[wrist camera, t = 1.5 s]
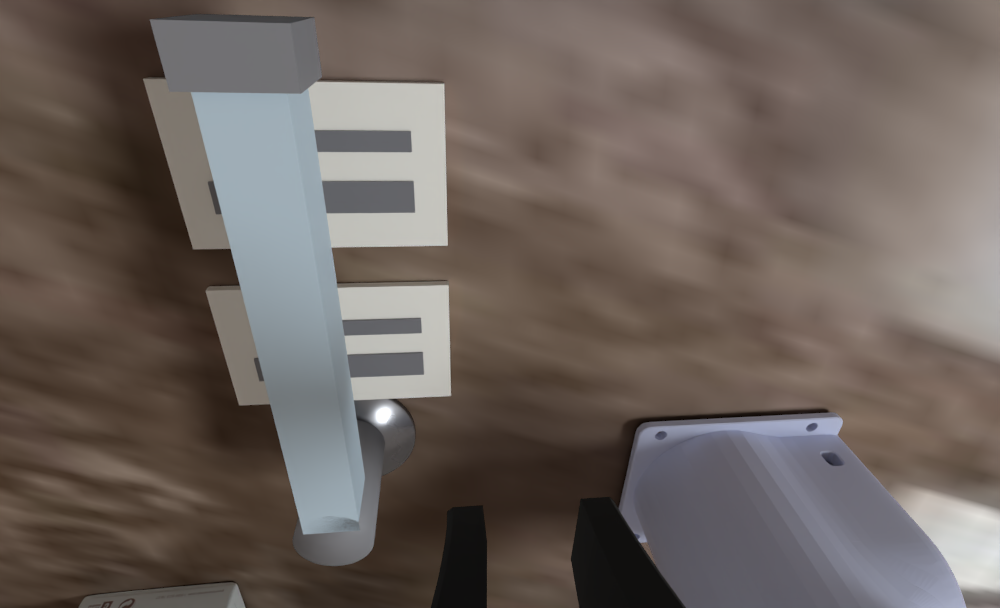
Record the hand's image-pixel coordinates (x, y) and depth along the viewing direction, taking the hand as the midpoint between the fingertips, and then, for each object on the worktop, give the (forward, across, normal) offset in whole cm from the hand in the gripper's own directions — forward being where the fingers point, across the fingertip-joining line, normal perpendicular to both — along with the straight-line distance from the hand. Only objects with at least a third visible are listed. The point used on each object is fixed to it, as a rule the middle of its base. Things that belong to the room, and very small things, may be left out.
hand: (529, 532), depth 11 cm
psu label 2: (+9, +6, +2) cm, 11 cm away
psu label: (+9, +6, -5) cm, 12 cm away
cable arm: (+9, +5, -1) cm, 10 cm away
